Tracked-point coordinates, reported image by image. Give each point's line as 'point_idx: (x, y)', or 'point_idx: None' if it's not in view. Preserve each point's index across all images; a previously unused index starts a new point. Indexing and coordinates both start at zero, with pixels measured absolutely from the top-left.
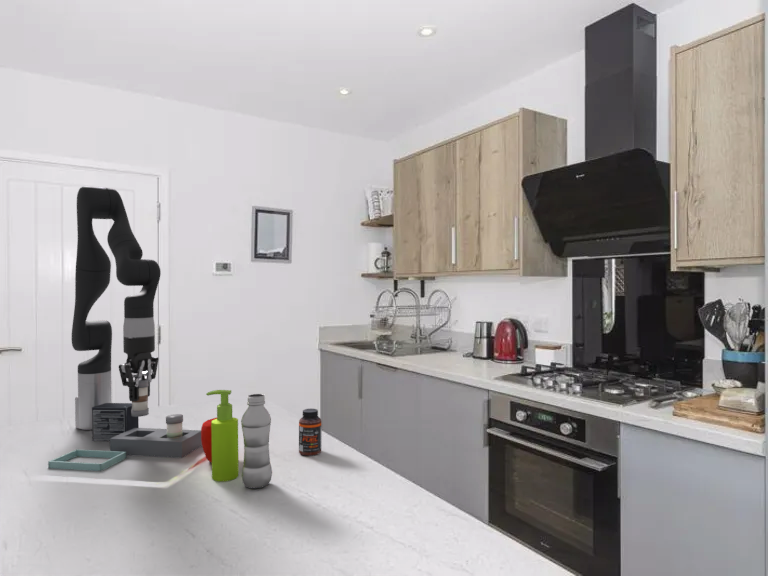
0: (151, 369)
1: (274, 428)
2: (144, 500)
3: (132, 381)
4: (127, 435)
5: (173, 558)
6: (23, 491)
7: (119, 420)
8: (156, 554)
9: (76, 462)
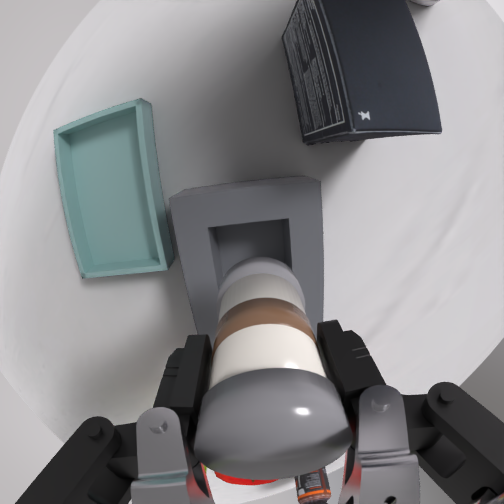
0: (456, 470)
1: (432, 383)
2: (83, 389)
3: (126, 483)
4: (228, 224)
5: (59, 432)
6: (9, 194)
7: (323, 105)
8: (52, 424)
9: (66, 208)
